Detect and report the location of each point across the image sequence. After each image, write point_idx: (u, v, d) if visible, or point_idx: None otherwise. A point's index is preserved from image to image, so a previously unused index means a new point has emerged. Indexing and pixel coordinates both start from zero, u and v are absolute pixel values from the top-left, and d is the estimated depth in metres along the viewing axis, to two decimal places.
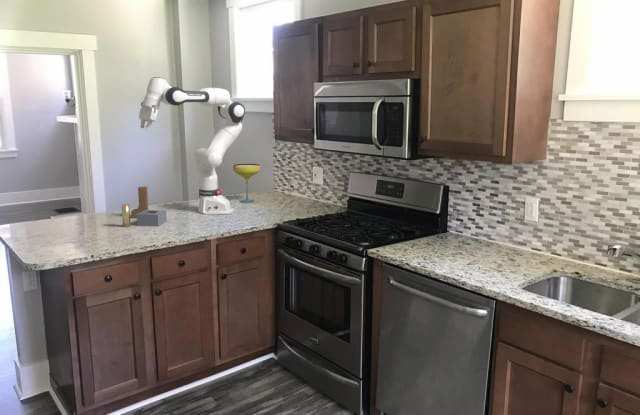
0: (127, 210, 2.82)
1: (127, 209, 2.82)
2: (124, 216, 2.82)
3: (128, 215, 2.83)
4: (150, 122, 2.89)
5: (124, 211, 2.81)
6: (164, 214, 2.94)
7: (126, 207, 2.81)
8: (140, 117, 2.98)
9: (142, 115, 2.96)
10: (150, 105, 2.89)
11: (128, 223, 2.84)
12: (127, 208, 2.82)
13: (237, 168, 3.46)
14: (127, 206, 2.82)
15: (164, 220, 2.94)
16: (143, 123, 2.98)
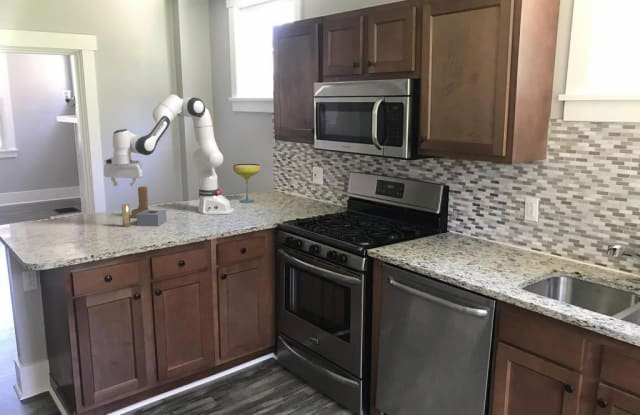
0: (127, 210, 2.82)
1: (127, 209, 2.82)
2: (124, 216, 2.82)
3: (128, 215, 2.83)
4: (135, 179, 2.80)
5: (124, 211, 2.81)
6: (164, 214, 2.94)
7: (126, 207, 2.81)
8: (109, 175, 2.78)
9: (113, 173, 2.78)
10: (128, 162, 2.76)
11: (128, 223, 2.84)
12: (127, 208, 2.82)
13: (237, 168, 3.46)
14: (127, 206, 2.82)
15: (164, 220, 2.94)
16: (114, 180, 2.81)
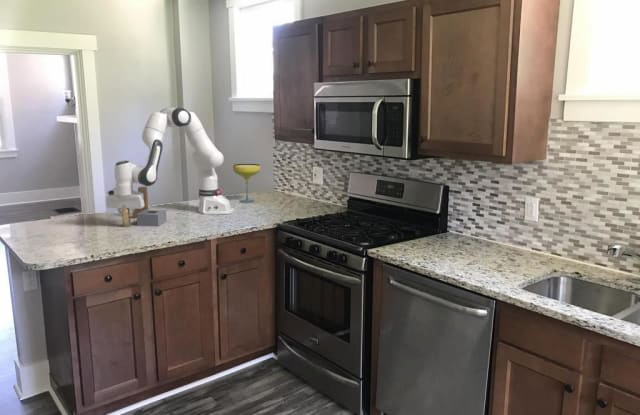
0: (127, 210, 2.82)
1: (127, 209, 2.82)
2: (124, 216, 2.82)
3: (128, 215, 2.83)
4: (133, 209, 2.83)
5: (124, 211, 2.81)
6: (164, 214, 2.94)
7: None
8: (111, 206, 2.82)
9: (115, 204, 2.81)
10: (130, 193, 2.80)
11: (128, 223, 2.84)
12: (127, 208, 2.82)
13: (237, 168, 3.46)
14: None
15: (164, 220, 2.94)
16: (120, 210, 2.84)
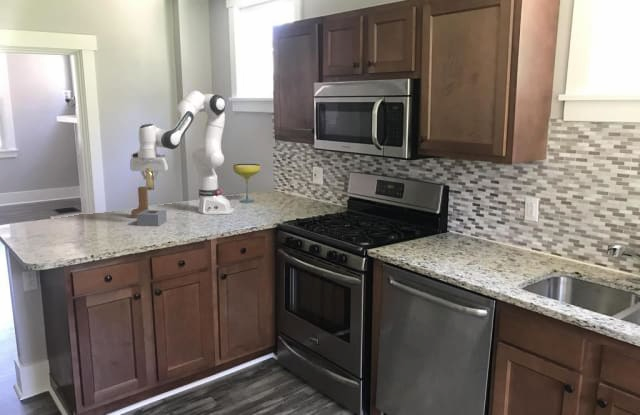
0: (151, 173, 2.85)
1: (151, 172, 2.85)
2: (148, 179, 2.85)
3: (152, 178, 2.86)
4: (157, 172, 2.86)
5: (148, 174, 2.84)
6: (164, 214, 2.94)
7: None
8: (135, 169, 2.85)
9: (139, 167, 2.84)
10: (154, 156, 2.83)
11: (152, 186, 2.87)
12: (151, 171, 2.85)
13: (237, 168, 3.46)
14: None
15: (164, 220, 2.94)
16: (143, 174, 2.87)
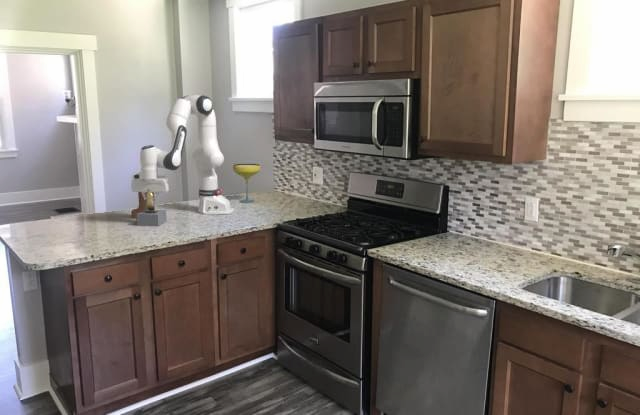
0: (152, 194, 2.87)
1: (152, 193, 2.87)
2: (149, 200, 2.87)
3: None
4: (158, 193, 2.88)
5: (149, 195, 2.87)
6: (164, 214, 2.94)
7: None
8: (137, 190, 2.87)
9: (140, 188, 2.87)
10: (155, 177, 2.85)
11: (152, 207, 2.89)
12: (152, 192, 2.87)
13: (237, 168, 3.46)
14: None
15: (164, 220, 2.94)
16: (144, 194, 2.89)
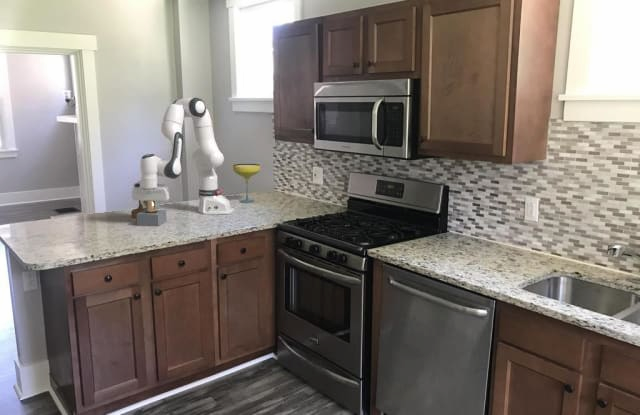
0: (153, 205, 2.89)
1: (153, 204, 2.88)
2: (150, 211, 2.89)
3: (154, 210, 2.90)
4: (160, 201, 2.89)
5: (150, 206, 2.88)
6: (164, 214, 2.94)
7: (152, 202, 2.88)
8: (137, 198, 2.88)
9: (141, 196, 2.88)
10: (156, 186, 2.86)
11: None
12: (153, 203, 2.88)
13: (237, 168, 3.46)
14: (153, 201, 2.88)
15: (164, 220, 2.94)
16: (143, 203, 2.90)
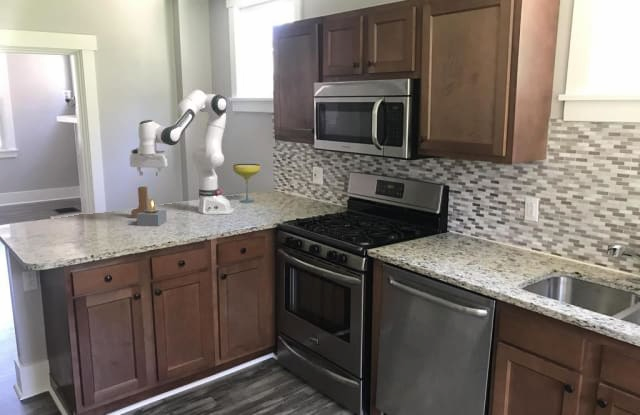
0: (152, 205, 2.89)
1: (152, 204, 2.89)
2: (150, 211, 2.89)
3: (153, 210, 2.90)
4: (160, 168, 2.86)
5: (150, 206, 2.88)
6: (164, 214, 2.94)
7: (151, 202, 2.88)
8: (135, 165, 2.84)
9: (139, 163, 2.84)
10: (154, 152, 2.82)
11: None
12: (152, 203, 2.88)
13: (237, 168, 3.46)
14: (152, 201, 2.88)
15: (164, 220, 2.94)
16: (140, 170, 2.87)
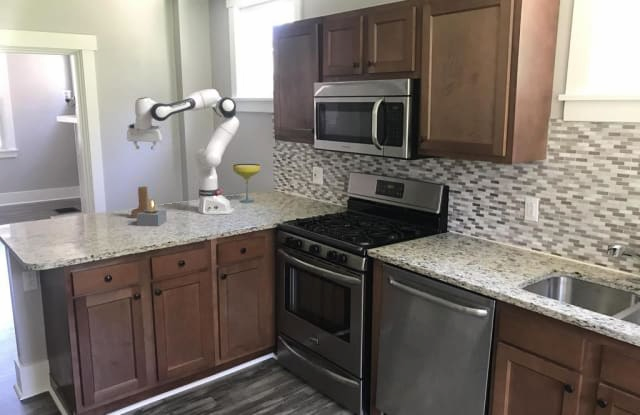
0: (152, 205, 2.89)
1: (152, 204, 2.89)
2: (150, 211, 2.89)
3: (153, 210, 2.90)
4: (155, 142, 3.08)
5: (150, 206, 2.88)
6: (164, 214, 2.94)
7: (151, 202, 2.88)
8: (132, 139, 3.06)
9: (135, 137, 3.06)
10: (149, 127, 3.04)
11: None
12: (153, 203, 2.88)
13: (237, 168, 3.46)
14: (153, 201, 2.88)
15: (164, 220, 2.94)
16: (136, 144, 3.09)
